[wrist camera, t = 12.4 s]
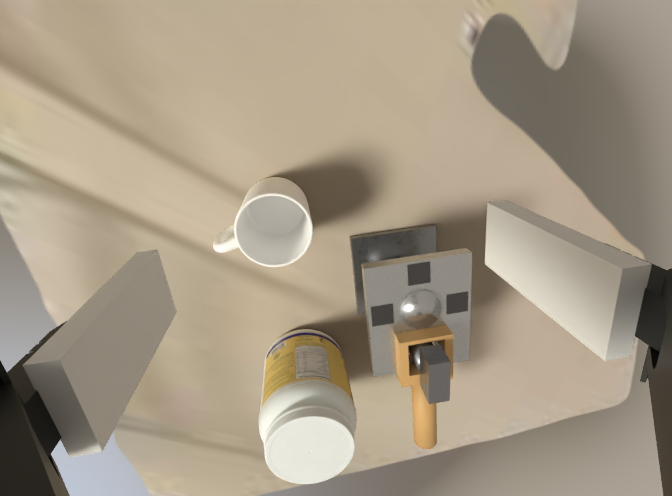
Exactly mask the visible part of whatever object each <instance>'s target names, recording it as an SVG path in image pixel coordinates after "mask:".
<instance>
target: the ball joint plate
mask: <svg viewBox="0 0 672 496" xmlns="http://www.w3.org/2000/svg"><path fill="white" fill-rule="evenodd" d="M350 245H351V255H352V265H353V274H354V284H355V294H356V304H357V312H358V315H359V314H365V313H366V320H367V331H368V341H369V352H370V363H371V370H372V373H373V376H380V375H386V374H392V373H397V363H396V347H395V333H401V332H407V331H413V330H419V329H425V328H431V327H437V326H443V325H447V326H448V328H449V329H450V330H451V332H452V333H453V363H455V362H461V361H466V360H469V358H470V320H471V281H472V252H471V251H470V250H468V249H467V248H462V249H455V250H449V251H442V252H436V226H435V225H434V224H431V225H424V226H418V227H411V228H404V229H397V230H390V231H383V232H376V233H369V234H363V235H356V236H350ZM437 344H439V340H438V341H434V345H437ZM410 364H415V362H414V360H413V358H412V356H409V365H410Z"/></svg>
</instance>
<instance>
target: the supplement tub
mask: <svg viewBox="0 0 672 496" xmlns="http://www.w3.org/2000/svg"><path fill="white" fill-rule="evenodd" d="M356 421H357V419H356V409H355V406H354V402H353V397H352V392H351V388H350V384H349V379H348V375H347V370H346V366H345V361H344V356H343V353H342V350H341V348H340V347H339V345H338V344H337V342H336V341H335V340H334V339H333V338H332V337H330V336H329V335H327V334H325V333H323V332H320V331H317V330H311V329H301V330H295V331H292V332H289V333H286V334H284V335H283V336H281V337H279V338H278V339H277V340H276V341H275V342H274V343H273V344H272V345H271V347H270V348H269V350H268V352H267V355H266V358H265V361H264V375H263V386H262V397H261V407H260V416H259V431H260V436H261V439H262V441H263V443H264V450H265V460H266V463H267V465H268V467H269V468H270V470H271V471H272V472H273V473H274V474H275V475H276V476H278V477H279V478H281V479H283V480H286V481H288V482H292V483H298V484H312V483H318V482H322V481H325V480H327V479H330V478H332V477H334V476H335V475H337V474H338V473H340V472H341V471H342V470H343V469H344V468H345V467H346V466H347V465H348V464H349V462H350V461H351V459H352V457H353V454H354V449H355V443H354V432H355V428H356Z"/></svg>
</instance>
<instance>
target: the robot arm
mask: <svg viewBox="0 0 672 496" xmlns="http://www.w3.org/2000/svg"><path fill="white" fill-rule="evenodd" d="M485 265H487V266H488V267H489V268H490V269H491V270H493V271H494V272H495V273H496V274H498V275H499V276H500V277H501V278H503V279H504V280H505V281H506V282H508V283H509V284H510V285H511V286H512V287H514V288H515V289H516V290H517V291H519V292H520V293H521V294H522V295H524V296H525V297H526V298H527V299H529V300H530V301H531V302H532V303H534V304H535V305H536V306H537V307H538V308H540V309H541V310H542V311H543V312H545V313H546V314H547V315H548V316H550V317H551V318H552V319H553V320H555V321H556V322H557V323H558V324H559V325H561V326H562V327H563V328H564V329H566V330H567V331H568V332H569V333H571V334H572V335H573V336H574V337H576V338H577V339H578V340H579V341H581V342H582V343H583V344H584V345H585V346H587V347H588V348H589V349H590V350H592V351H593V352H594V353H595V354H597V355H598V356H599V357H600V358H602V359H603V360H604V361H610V360H616V359H621V358H627V357H632V352H633V348H634V343H635V338H636V337H637V338H639V339H641V340H642V341H643V342H645V343H646V344H648V345H649V346H648V350H647V354H646V359H645V363H644V367H643V371H642V376H641V380H640V381H642V382H646V380H647V378H648V380H649V388H650V395H651V403H652V411H653V418H654V426H655V433H656V441H657V449H658V457H659V464H660V471H661V480H662V487H663V495H664V496H672V269H669V270H665V269H663V268H660V267H658V266H656V265H654V264H651V263H649V262H647V261H645V260H642V259H640V258H638V257H635V256H632V255H631V254H629V253H626V252H624V251H621V250H619V249H617V248H615V247H612V246H610V245H608V244H605V243H602V242H600V241H598V240H595V239H593V238H591V237H589V236H586V235H584V234H582V233H579V232H577V231H575V230H573V229H570V228H568V227H566V226H564V225H561V224H559V223H557V222H554V221H552V220H550V219H548V218H545V217H543V216H541V215H538V214H536V213H534V212H532V211H529V210H527V209H525V208H522V207H520V206H518V205H516V204H513V203H511V202H509V201H507V200H501V201H494V202H487V223H486V247H485ZM175 314H176V308H175V305H174V302H173V299H172V295H171V292H170V289H169V286H168V282H167V279H166V276H165V273H164V269H163V266H162V263H161V260H160V256H159V253H158V250H152V251H145V252H138V253H136V254H135V255H134V256H133V257H132V258H131V259H130V260H129V261H128V262H127V263H126V264H125V265H124V266H123V267H122V268H121V269H120V270H119V271H118V272H117V273H116V274H115V275H114V276H113V277H112V278H111V279H110V280H109V281H108V282H107V283H106V284H104V285H103V286H102V287H101V288H100V289H99V290H98V291H97V292H96V293H95V294H94V295H93V296H92V297H91V298H90V299H89V300H88V301H87V302H86V303H85V304H84V305H83V306H82V307H81V308H80V309H79V310H78V311H77V312H76V313H75V314H74V315H73V316H72V317H71V318H70V319H69V320H68V321H66V322H64V323H63V324H61V325H60V326H58V327H56V328H55V329H53V330H52V331H50V332H49V333H48V334H47V335H46V336H45V337H44V338H43V339H42V340H41V341H40V342H39V344H38V345H36V346H35V347H34V348H33V349H32V350H30V351H29V354H26V355H25V356H24V357H23V358H22V359H21V360H20V361H19V362H18V363H17V364H16V365H15V366H14V367H13V368H12V369H11V370H10V371H8V372H6V370H5V369H4V367H3V365H2V363H1V361H0V496H69V493H68V491H67V489H66V487H65V484H64V482H63V479H62V477H61V475H60V472H59V470H58V468H57V465H56V463H55V461H54V459H53V458H52V456H51V452H52V451H53V449H54V448H55V446H56V445H57V443H58V442H59V440H60V439H61V441H62V443H63V445H64V447H65V449H66V451H67V453H68V455H69V457H74V456H79V455H86V454H91V453H97V452H102V451H103V449H104V447H105V445H106V444H107V442H108V440H109V438H110V436H111V434H112V432H113V431H114V429H115V427H116V425H117V423H118V421H119V419H120V417H121V416H122V414H123V412H124V410H125V408H126V406H127V404H128V402H129V401H130V399H131V397H132V395H133V393H134V391H135V389H136V387H137V385H138V384H139V382H140V380H141V378H142V376H143V374H144V372H145V370H146V369H147V367H148V365H149V363H150V361H151V359H152V357H153V355H154V354H155V352H156V350H157V348H158V346H159V344H160V342H161V340H162V339H163V337H164V335H165V333H166V331H167V329H168V327H169V325H170V323H171V322H172V320H173V318H174V316H175Z"/></svg>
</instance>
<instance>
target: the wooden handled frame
mask: <svg viewBox="0 0 672 496" xmlns="http://www.w3.org/2000/svg"><path fill="white" fill-rule="evenodd" d="M438 340H439V344H440V345H441V346H442V348H443V350H444V351H445V353H446V355H447V356H448V358H449V360H450V361H451V368H450V379H453V333H452V332H451V330H450V329H449V328H448V326H447V325H443V326H437V327H431V328H425V329H419V330H413V331H407V332H401V333H395V347H396V363H397V377H398V379H399V382H400V384H401V387H408V386H412V404H413V427H414V441H415V443H416V445H417V446H418V447H420V448H422V449H431V448H433V447H434V446H435V445H436V443H437V422H436V403H433V404H428V401H427V399H426V397H425V395H424V392H423V390H422V388H421V386H420V372H419V371H418V369H417V367H416V365H415V364H410V365H409V356H411V355H408V346H409V345H415V344H421V343H427V342H433V341H438Z"/></svg>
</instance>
